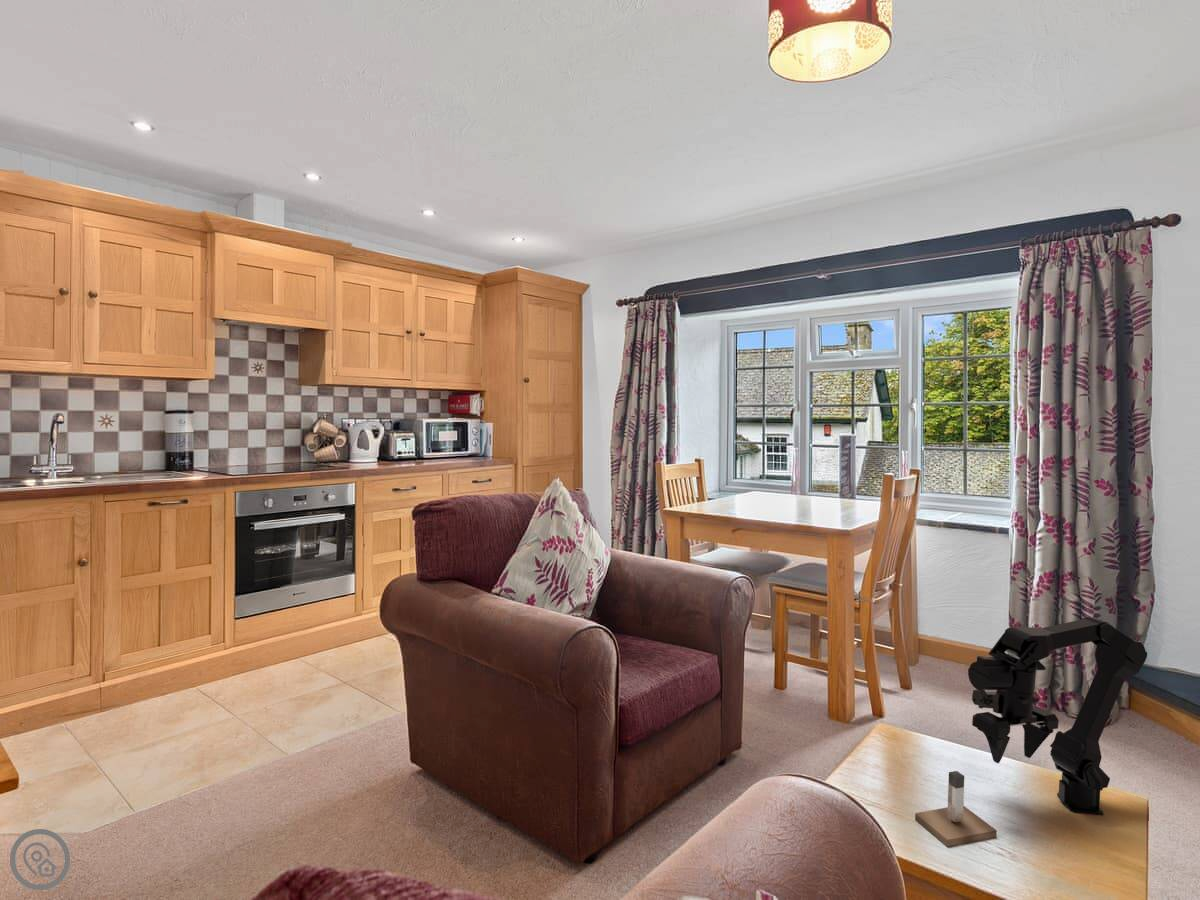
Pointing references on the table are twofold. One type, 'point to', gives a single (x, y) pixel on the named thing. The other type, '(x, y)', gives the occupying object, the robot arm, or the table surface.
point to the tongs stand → (955, 824)
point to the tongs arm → (957, 797)
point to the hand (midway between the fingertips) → (1011, 759)
